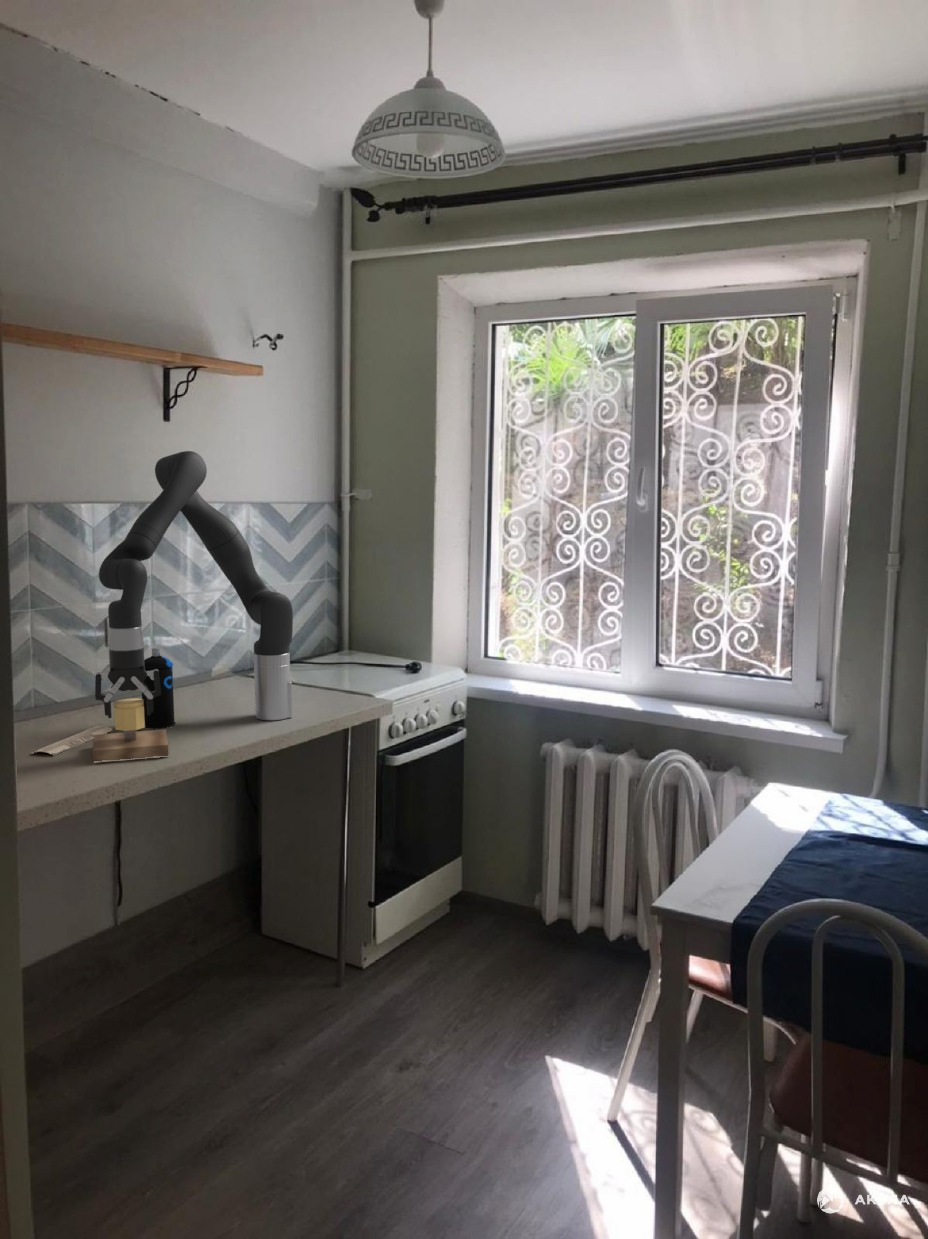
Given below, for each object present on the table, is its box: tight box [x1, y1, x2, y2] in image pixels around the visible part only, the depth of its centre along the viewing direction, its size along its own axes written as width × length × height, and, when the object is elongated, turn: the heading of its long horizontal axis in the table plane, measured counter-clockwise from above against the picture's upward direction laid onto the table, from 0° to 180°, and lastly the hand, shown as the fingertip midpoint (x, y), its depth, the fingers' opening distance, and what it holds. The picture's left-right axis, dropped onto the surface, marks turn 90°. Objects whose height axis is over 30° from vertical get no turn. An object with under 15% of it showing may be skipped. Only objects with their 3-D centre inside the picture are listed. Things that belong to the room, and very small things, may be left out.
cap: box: [113, 697, 145, 732], centre depth 228 cm, size 6×6×6 cm
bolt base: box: [92, 729, 169, 761], centre depth 229 cm, size 16×14×11 cm
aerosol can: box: [141, 647, 177, 730], centre depth 253 cm, size 8×8×20 cm
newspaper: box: [33, 725, 114, 755], centre depth 238 cm, size 24×7×2 cm, turn 166°
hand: (129, 715), depth 228 cm, fingers open, 8 cm apart
